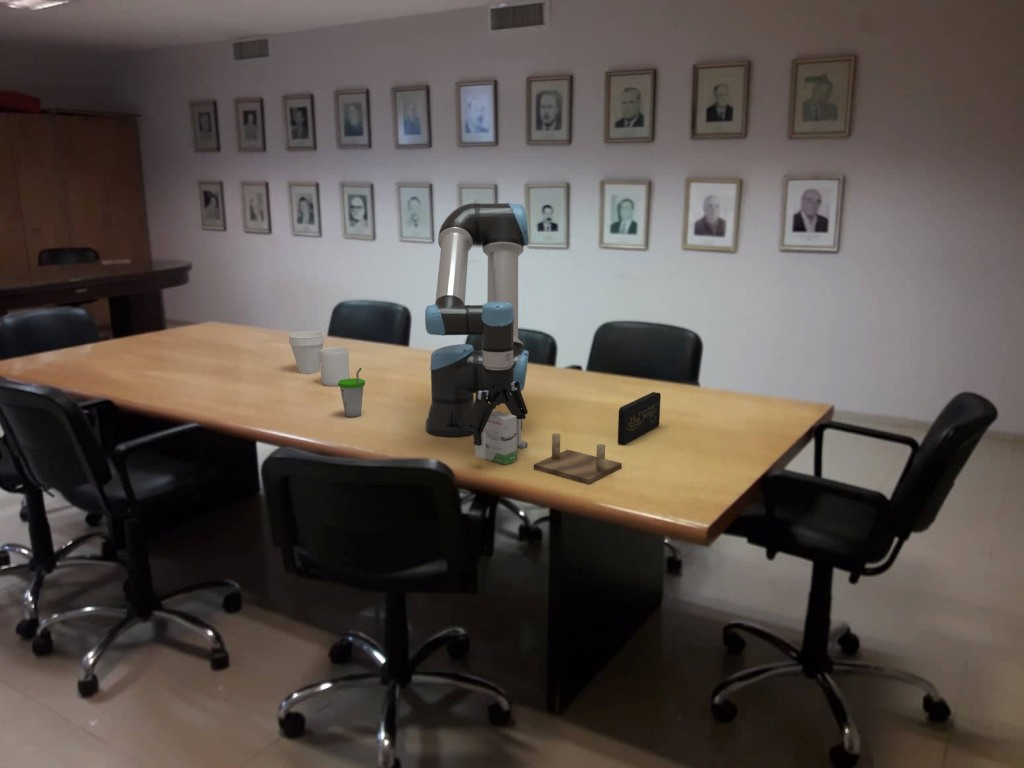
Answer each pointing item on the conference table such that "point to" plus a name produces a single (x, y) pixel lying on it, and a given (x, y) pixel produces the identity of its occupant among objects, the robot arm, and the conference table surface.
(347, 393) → the cup
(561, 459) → the rack
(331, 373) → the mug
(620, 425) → the nameplate
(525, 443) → the pin
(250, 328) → the conference table surface
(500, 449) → the ink box
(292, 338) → the white flower pot
